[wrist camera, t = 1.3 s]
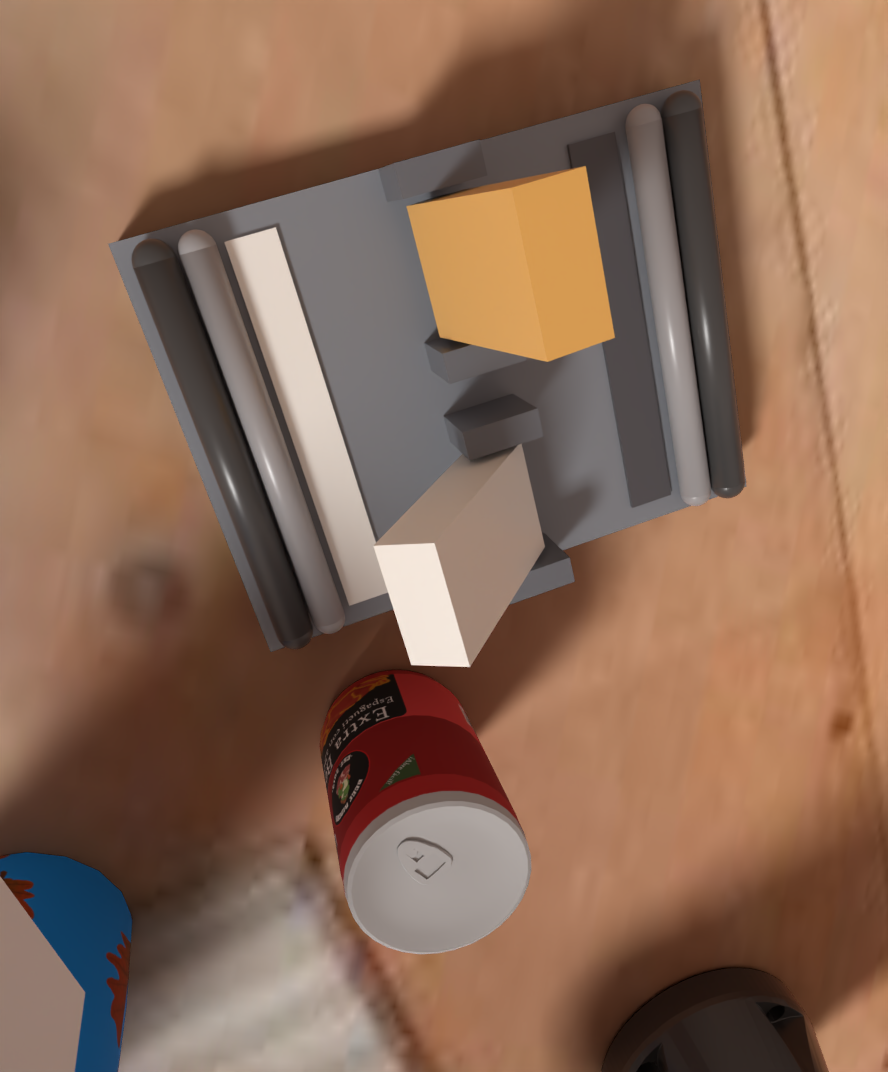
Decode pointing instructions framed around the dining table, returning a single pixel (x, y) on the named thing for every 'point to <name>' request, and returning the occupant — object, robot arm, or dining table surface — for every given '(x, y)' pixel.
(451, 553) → the block
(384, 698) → the canned food
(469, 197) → the block
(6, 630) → the dining table surface
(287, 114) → the dining table surface
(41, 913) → the thermos
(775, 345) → the dining table surface
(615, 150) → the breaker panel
